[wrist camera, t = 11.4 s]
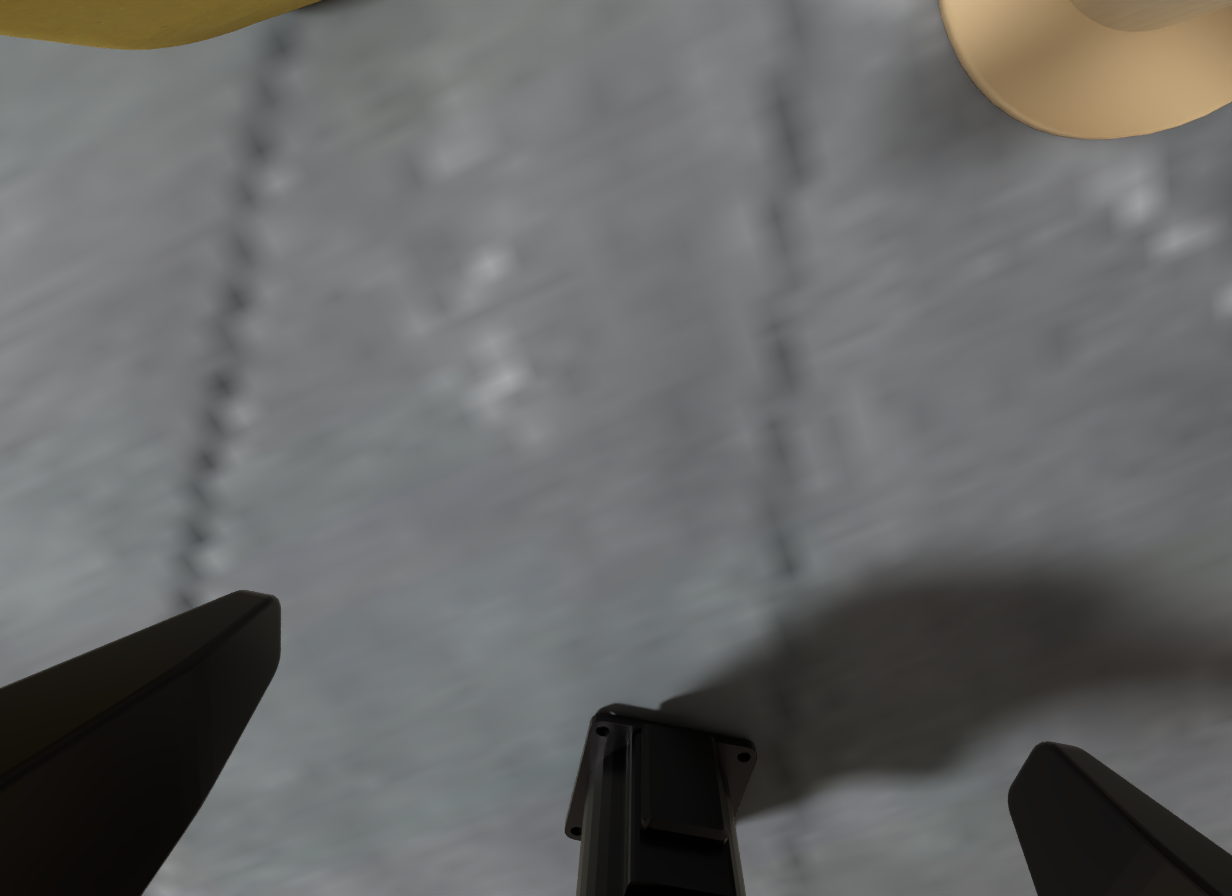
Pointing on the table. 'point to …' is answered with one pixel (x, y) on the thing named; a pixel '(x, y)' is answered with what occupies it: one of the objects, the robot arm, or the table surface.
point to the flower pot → (135, 20)
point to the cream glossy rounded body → (1146, 12)
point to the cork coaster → (1090, 67)
